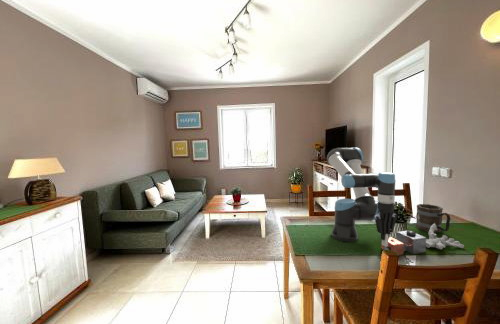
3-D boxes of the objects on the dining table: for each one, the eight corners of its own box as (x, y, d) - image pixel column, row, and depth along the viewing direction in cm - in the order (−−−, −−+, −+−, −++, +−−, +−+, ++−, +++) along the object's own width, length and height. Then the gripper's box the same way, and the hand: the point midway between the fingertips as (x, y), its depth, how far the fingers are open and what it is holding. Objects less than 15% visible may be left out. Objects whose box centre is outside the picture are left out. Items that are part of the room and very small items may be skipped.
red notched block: (390, 247, 122) (390, 236, 121) (403, 254, 114) (403, 243, 114) (381, 248, 121) (381, 237, 120) (393, 255, 113) (393, 244, 112)
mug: (410, 225, 152) (411, 204, 150) (427, 224, 154) (428, 203, 153) (439, 237, 132) (440, 213, 131) (457, 235, 135) (459, 211, 133)
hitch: (408, 243, 126) (408, 227, 125) (425, 252, 116) (426, 234, 115) (379, 247, 122) (379, 231, 121) (394, 256, 112) (395, 239, 111)
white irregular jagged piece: (409, 223, 131) (438, 223, 134) (407, 236, 133) (435, 235, 135) (440, 240, 113) (473, 239, 115) (437, 255, 114) (470, 253, 117)
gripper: (380, 204, 109) (379, 250, 111) (402, 202, 112) (401, 247, 114) (369, 201, 117) (368, 243, 119) (390, 199, 119) (389, 241, 121)
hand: (384, 245), depth 116 cm, fingers closed
